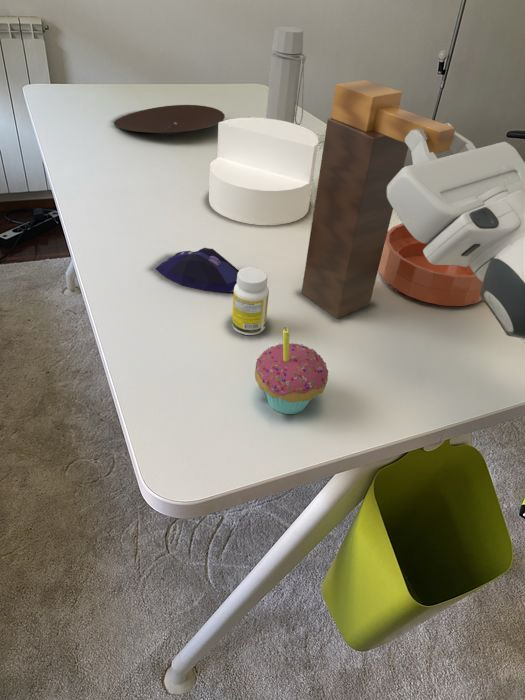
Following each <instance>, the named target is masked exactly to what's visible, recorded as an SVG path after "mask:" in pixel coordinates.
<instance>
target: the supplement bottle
mask: <svg viewBox="0 0 525 700" xmlns="http://www.w3.org/2000/svg"><path fill="white" fill-rule="evenodd" d="M238 270H239V272H238V274H237V284H236V285H235V287H234V291H233V294H232V295H233V297H232V298H233V299H232V317H231V325H232V328H233V330H235V331H236V332H237V333H239V334H242V335H246V336H255V335H259V334H261V333H262V332H264V330H265V328H266V325H267V314H268V304H269V296H270V290H269V289H270V288H269V286H268V274H267V272H266V270H263V269H262V268H259V267H255V266H246V267H243V268H241V269H238Z"/></svg>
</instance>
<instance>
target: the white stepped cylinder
mask: <svg viewBox="0 0 525 700" xmlns="http://www.w3.org/2000/svg"><path fill="white" fill-rule="evenodd" d="M297 124H298V123H297ZM297 124H296V123H294V124H293V123H290V122H286V121H281V120H275V119H267V118H266V117H237V118H230V119H224V120H223V121H221V122H219V123H218V124H217V125H218V127H217V128H218V129H217V155H216V158H214V159H213V160H212V161H211V163H210V164H209V180H208V201H209V205H210V206H211V209H213V210H214V211H215V212H216V213H218V214H219V215H221V216H223V217H225V218H227V219H230V220H233V221H234V222H235V221H236V222H239V223H244V224H249V225H256V226H279V225H286V224H290V223H293V222H296V221H299V220H301V219H302V218H304V217H305V216H306V215H307V213H308V212H309V210H310V209H309V208H310V202H311V194H312V188H313V181H314V173H315V168H316V161H317V153H318V146H319V137H318V135H317V134H316V133H315V132H313V131H312V130H310V129H309V128H307V127H304V126H302V125H301V124H300V125H297Z"/></svg>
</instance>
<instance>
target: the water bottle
mask: <svg viewBox="0 0 525 700" xmlns="http://www.w3.org/2000/svg"><path fill="white" fill-rule="evenodd" d="M272 40H273V41H272V46H271V53H272V54H271V56H270V57H271V58H270V69H269V79H268V80H269V81H268V94H267V105H266V115H265V118H267V119H275V120H281V121H286V122H290V123H293V124H297V125H300V126H301V124H302V121H303V116H304V90H305V89H304V88H305V87H304V86H305V84H304V83H305V82H304V81H305V62H306V59H307V56H306V55H305V54H303V52H304V51H303V49H304V29H302V28H299V27H291V26H275V29H274V33H273V39H272ZM301 64H302V65H301ZM301 85H302V89H301ZM301 91H302V92H301ZM300 93H302V94H301V117H300V121H299V123H298V122H297V114H298V107H299V101H300Z"/></svg>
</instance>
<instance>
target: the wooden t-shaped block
mask: <svg viewBox="0 0 525 700" xmlns="http://www.w3.org/2000/svg"><path fill="white" fill-rule="evenodd" d="M402 96H403V91H401V90H397V89H395V88H391V87H388V86H385V85H382V84H380V83H376V82H373V81H370V80H366V79H364V80H363V79H362V80H356V81H349V82H341V83H335V88H334V94H333V99H332V106H331V107H332V108H331V113H330V118H332V119H334V120H337V121H340V122H342V123H345V124H347V125H350V126H352V127H355V128H357V129H360V130H362V131H365V132H369V131H373V130H374V131H375V132H378V133H380V134H383V135H386V136H388V137H391V138H393V139H396V140H398V141H401V142H404V143H405V137H406V136H407V135H408V134H409V132H410V131H411V130H416V129H423V130H424V131H425V134H427V135H428V137H429V138H430V139H429V141H428V142H427V146H428V149H429V152H433V153H434V154H435V155H437V154H441V153H444V152H448V151H449V150H450V147H451V143H452V140H453V136H454V133H455V131H456V129H457V128H456V127H453V126H452V125H451V126H452V127H451V126H448V125H445V124H446V123H443V122H439V121H437V120H434V119H431V118H428V117H425V116H422V115H419V114H416V113H414V112H411V111H407V110H405V109H401V108H400V105H401V101H402Z"/></svg>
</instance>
